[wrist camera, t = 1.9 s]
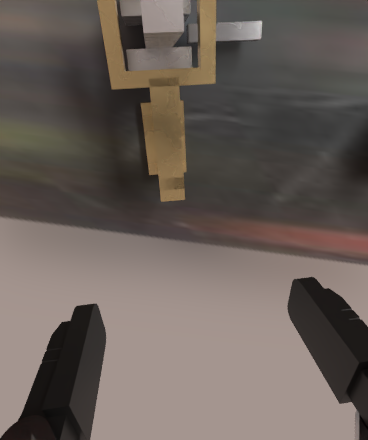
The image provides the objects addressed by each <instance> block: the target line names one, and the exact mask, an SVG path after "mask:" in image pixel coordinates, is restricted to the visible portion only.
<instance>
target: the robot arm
mask: <svg viewBox="0 0 368 440" xmlns="http://www.w3.org/2000/svg"><path fill="white" fill-rule="evenodd" d="M288 313H289V316H290V319H291V321H292V323H293V324H294V326H295V328H296V329H297V331H298V333H299V335H300V336H301V338H302V340H303V341H304V343H305V345H306V346H307V348H308V350H309V352H310V353H311V355H312V357H313V359H314V360H315V362H316V364H317V365H318V367H319V369H320V371H321V372H322V374H323V376H324V378H325V379H326V381H327V382H328V384H329V386H330V388H331V389H332V391H333V393H334V394H335V396H336V398H337V400H338V401H339V403H340V404H341V403H348V402H352V403H353V404H354V406H355V407H356V409H357V411H356V414H355V440H368V327H367V325H366V324H365V323H364V322H363V321H362V320H360V319H359V316H358V315H357V314H356V313H355V312H354V311H353V310H352V309H351V307H350V306H349V305H348V304H347V303H346V301H345V300H344V299H343V298H342V297H341V296H339V295H338V294H336V293H335V292H333V291H332V290H330V289H329V288H328V289H324V288H323V287H322V286H321V284H320V283H319V282H318V281H317V280H316V279H315V278H314V277H309V278H301V279H294V280H293V282H292V287H291V291H290V296H289V301H288ZM105 345H106V332H105V327H104V324H103V321H102V317H101V314H100V311H99V308H98V305H97V304H88V305H81V306H76V307H75V309H74V312H73V315H72V318H71V321H67V322H62V323H61V324H60V325H59V327H58V328H57V329H56V330H55V332H54V333H53V334H52V336H51V338H50V341H49V344H48V346H47V351H46V352H45V354H44V357H43V359H42V364H41V365H40V368H39V370H38V373H37V375H36V378H35V381H34V383H33V386H32V388H31V391H30V394H29V396H28V399H27V402H26V404H25V407H24V410H23V412H22V414H21V416H20V418H19V420H18V421H17V422H16V423H14V424H13V425H12V426H11V427H10V428H9V429H8V430H7V431H6V432H5V433H4V434H3V435H2V437H1V438H0V440H90V437H91V430H92V424H93V418H94V412H95V406H96V400H97V394H98V388H99V381H100V376H101V370H102V364H103V357H104V351H105Z"/></svg>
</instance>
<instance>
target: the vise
mask: <svg viewBox="0 0 368 440" xmlns="http://www.w3.org/2000/svg"><path fill="white" fill-rule="evenodd" d="M119 1H120V9H121V16H122V18H123V20H124V23H125V25H126V26H133V25H143V32H144V39H145V46H146V49H127V50H126V54H127V61H128V69H129V71H141V70H160V69H179V68H192V47H173V46H174V44H175V43H176V42H177V40H178V39H179V38H180V36H181V35H182V34H183V32H184V23H185V22H186V20H187V19H188V17H189V15H190V14H191V9H190V0H119ZM186 27H187V44H198V25H197V24H188V25H187V26H186ZM261 31H262V21H249V22H224V23H216V43H220V42H242V41H257V40H260V39H261Z"/></svg>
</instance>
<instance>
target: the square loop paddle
mask: <svg viewBox="0 0 368 440" xmlns="http://www.w3.org/2000/svg"><path fill="white" fill-rule="evenodd" d="M97 3H98V9H99V15H100V21H101V27H102V33H103V39H104V45H105V51H106V57H107V63H108V69H109V75H110V81H111V87H112V89H129V88H146V87H150V97H151V102H141V110H142V118H143V127H144V135H145V143H146V152H147V160H148V169H149V175H156V174H158V176H159V186H160V196H161V202H164V201H175V200H185V192H184V172H186V151H185V129H184V107H183V100H180V93H179V86H181V85H198V84H215V68H216V0H197V25H198V68H179V69H160V70H141V71H126V69H125V62H124V54H123V47H122V40H121V32H120V25H119V18H118V11H117V3H116V0H97Z"/></svg>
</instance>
